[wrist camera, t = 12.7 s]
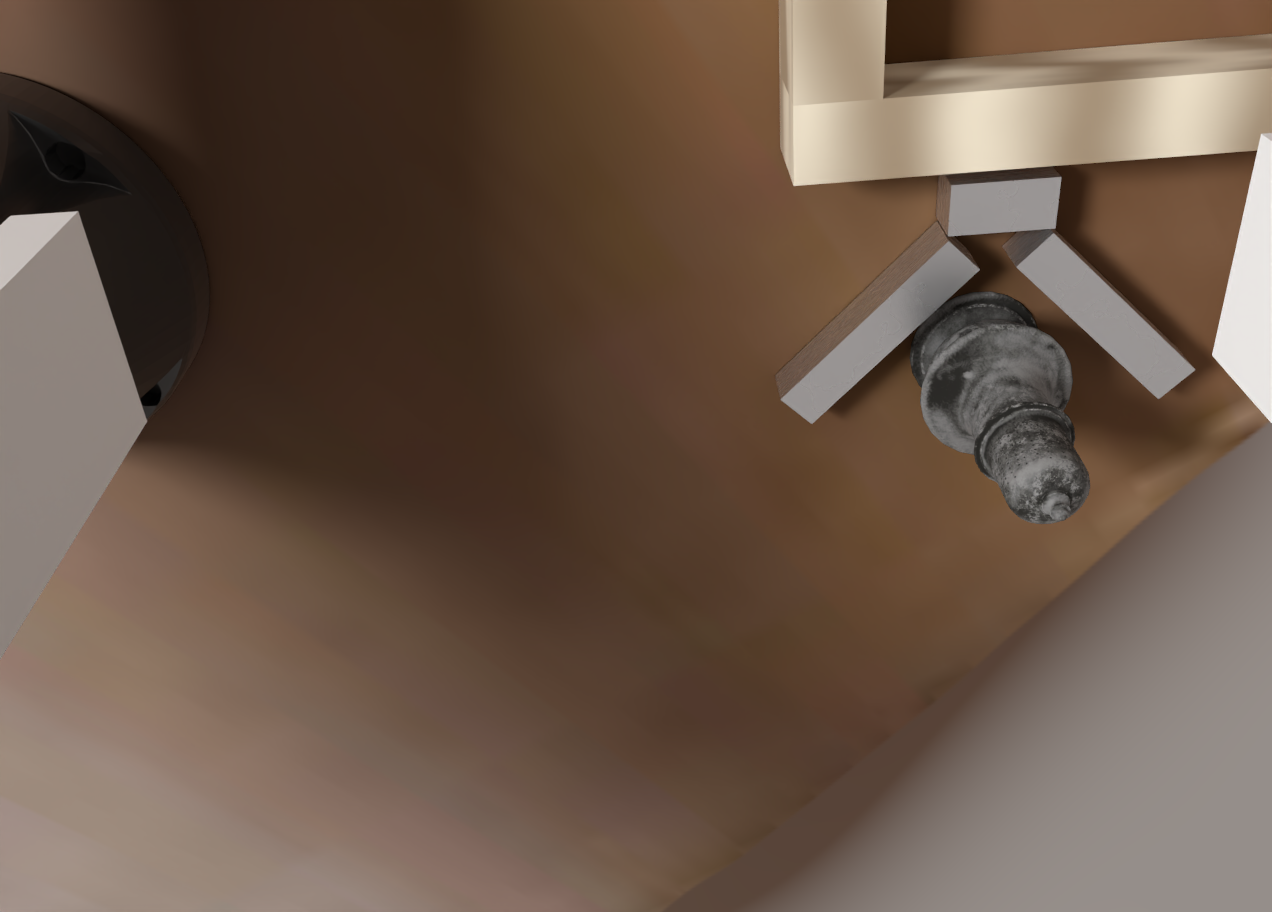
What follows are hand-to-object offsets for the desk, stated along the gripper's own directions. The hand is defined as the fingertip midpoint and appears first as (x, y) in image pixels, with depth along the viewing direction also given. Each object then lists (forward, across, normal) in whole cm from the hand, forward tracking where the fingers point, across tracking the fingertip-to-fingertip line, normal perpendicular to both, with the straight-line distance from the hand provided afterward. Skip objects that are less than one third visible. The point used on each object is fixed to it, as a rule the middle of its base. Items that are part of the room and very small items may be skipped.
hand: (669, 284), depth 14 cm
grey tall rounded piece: (+32, +13, -19) cm, 39 cm away
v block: (+32, +13, -15) cm, 37 cm away
